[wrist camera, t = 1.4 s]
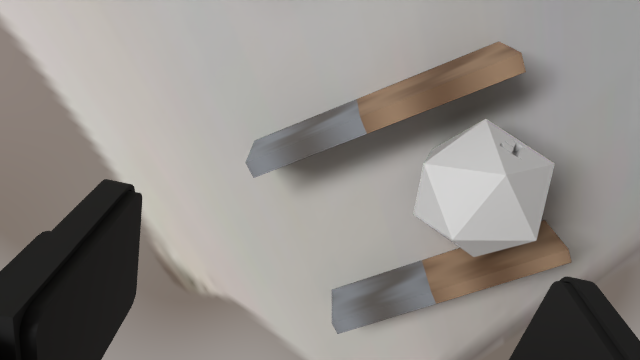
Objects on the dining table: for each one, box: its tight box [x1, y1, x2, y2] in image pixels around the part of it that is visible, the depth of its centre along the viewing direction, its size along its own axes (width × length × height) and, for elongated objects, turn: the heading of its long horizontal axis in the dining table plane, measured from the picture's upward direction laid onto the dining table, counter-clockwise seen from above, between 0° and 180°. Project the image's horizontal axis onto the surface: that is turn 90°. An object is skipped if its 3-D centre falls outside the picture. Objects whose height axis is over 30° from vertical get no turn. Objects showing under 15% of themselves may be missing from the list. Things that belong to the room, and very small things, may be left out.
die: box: [413, 119, 555, 257], centre depth 31 cm, size 8×9×10 cm
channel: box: [245, 42, 571, 334], centre depth 34 cm, size 18×16×4 cm
